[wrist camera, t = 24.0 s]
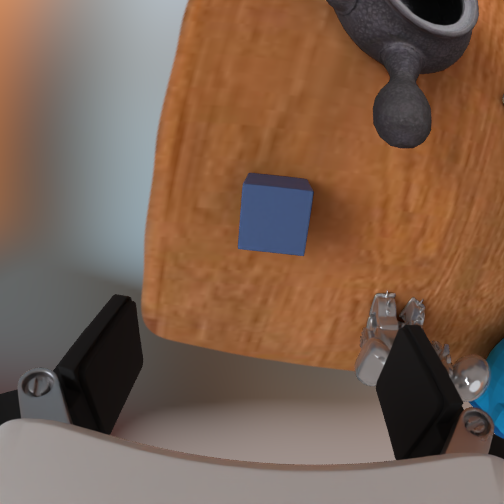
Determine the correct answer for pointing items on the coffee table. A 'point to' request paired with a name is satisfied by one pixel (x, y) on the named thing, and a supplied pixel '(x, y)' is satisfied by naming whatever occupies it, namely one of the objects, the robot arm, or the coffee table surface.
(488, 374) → the robot toy
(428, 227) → the coffee table surface
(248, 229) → the blue block
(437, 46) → the teapot
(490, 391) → the piggy bank
